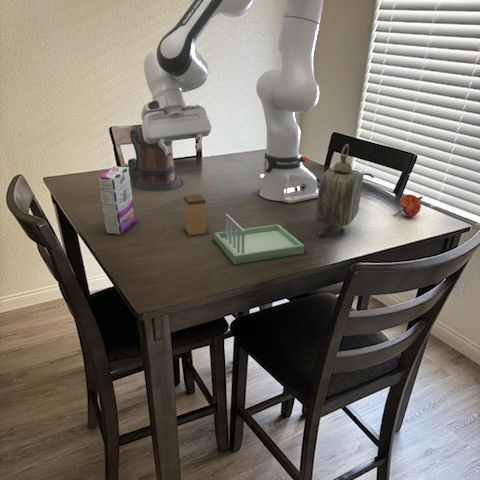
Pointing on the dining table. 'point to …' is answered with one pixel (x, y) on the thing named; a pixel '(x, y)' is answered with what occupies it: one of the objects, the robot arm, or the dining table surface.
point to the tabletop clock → (339, 194)
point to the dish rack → (256, 242)
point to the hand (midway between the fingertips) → (184, 152)
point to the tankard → (152, 164)
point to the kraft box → (195, 214)
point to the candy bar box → (116, 199)
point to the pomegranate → (410, 205)
